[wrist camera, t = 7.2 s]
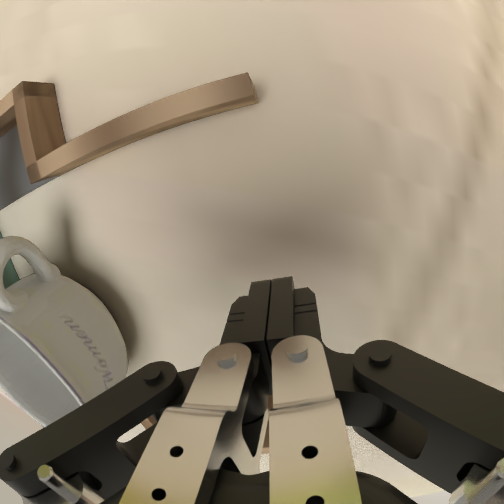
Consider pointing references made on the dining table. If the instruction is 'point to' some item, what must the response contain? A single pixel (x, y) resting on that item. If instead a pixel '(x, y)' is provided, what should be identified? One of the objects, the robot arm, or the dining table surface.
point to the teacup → (54, 339)
